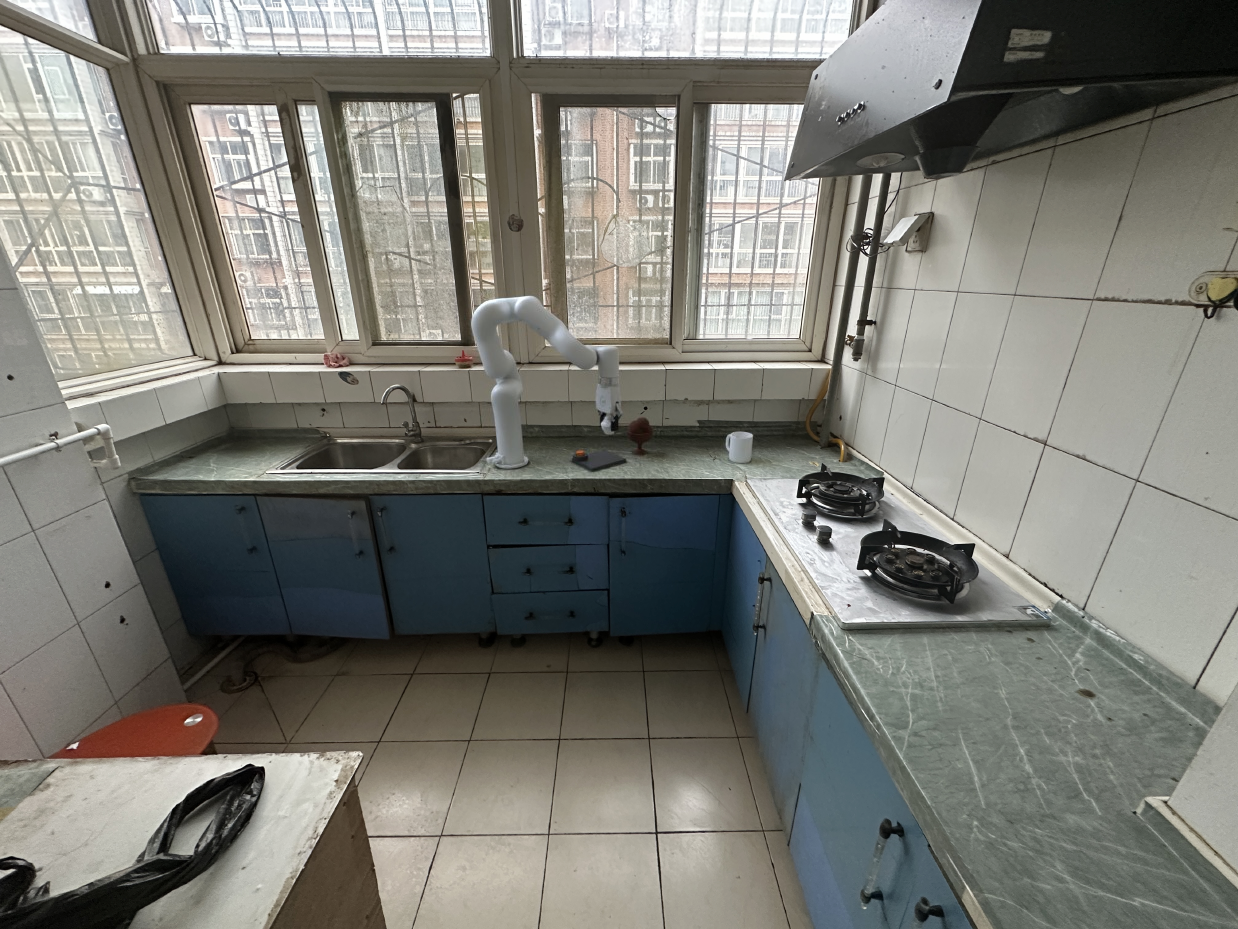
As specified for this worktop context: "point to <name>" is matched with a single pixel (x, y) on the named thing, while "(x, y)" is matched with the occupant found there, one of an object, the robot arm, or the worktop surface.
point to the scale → (598, 460)
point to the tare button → (580, 453)
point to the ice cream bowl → (639, 433)
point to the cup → (739, 446)
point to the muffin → (607, 425)
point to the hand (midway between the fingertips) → (609, 428)
